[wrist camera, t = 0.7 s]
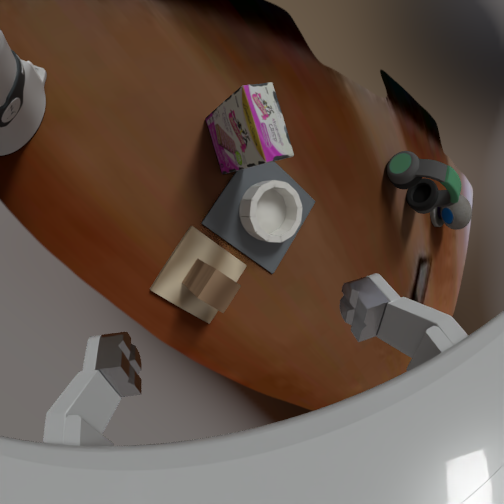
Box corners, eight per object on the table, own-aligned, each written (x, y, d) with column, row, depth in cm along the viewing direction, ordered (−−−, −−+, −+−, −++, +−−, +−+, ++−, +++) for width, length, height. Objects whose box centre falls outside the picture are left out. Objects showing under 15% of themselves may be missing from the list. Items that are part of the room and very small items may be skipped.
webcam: (444, 220, 94) (476, 224, 81) (431, 231, 90) (466, 237, 77) (440, 188, 90) (474, 190, 77) (428, 197, 85) (464, 200, 72)
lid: (149, 288, 47) (160, 308, 38) (190, 225, 49) (210, 230, 40) (207, 321, 53) (229, 344, 44) (243, 264, 55) (272, 276, 46)
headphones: (379, 179, 71) (443, 180, 53) (389, 149, 71) (449, 145, 54) (408, 214, 80) (463, 221, 62) (416, 186, 81) (469, 188, 63)
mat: (201, 223, 50) (202, 223, 49) (255, 145, 52) (256, 145, 52) (271, 273, 58) (272, 273, 58) (314, 201, 61) (315, 201, 60)
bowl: (227, 218, 51) (238, 219, 48) (259, 170, 53) (272, 168, 49) (270, 250, 57) (282, 253, 53) (297, 204, 58) (311, 205, 54)
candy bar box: (202, 118, 46) (241, 83, 32) (227, 113, 48) (273, 80, 34) (220, 176, 50) (266, 163, 35) (245, 169, 51) (297, 155, 37)
